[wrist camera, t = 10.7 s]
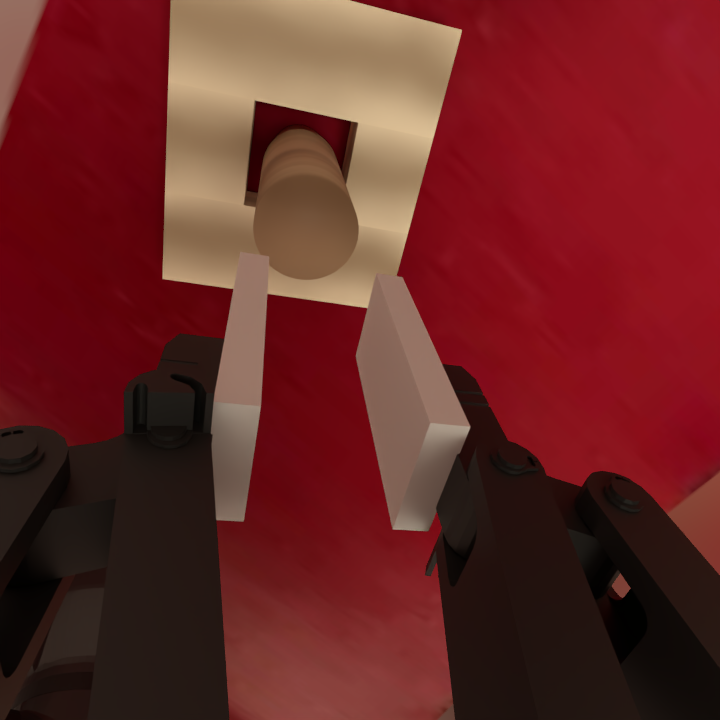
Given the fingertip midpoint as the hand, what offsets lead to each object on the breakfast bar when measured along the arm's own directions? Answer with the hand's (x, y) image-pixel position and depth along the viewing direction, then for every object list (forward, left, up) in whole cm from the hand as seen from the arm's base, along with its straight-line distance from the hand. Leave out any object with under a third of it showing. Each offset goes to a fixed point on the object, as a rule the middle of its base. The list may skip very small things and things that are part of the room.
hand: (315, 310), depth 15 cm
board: (0, 0, -21) cm, 21 cm away
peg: (0, 0, -21) cm, 21 cm away
